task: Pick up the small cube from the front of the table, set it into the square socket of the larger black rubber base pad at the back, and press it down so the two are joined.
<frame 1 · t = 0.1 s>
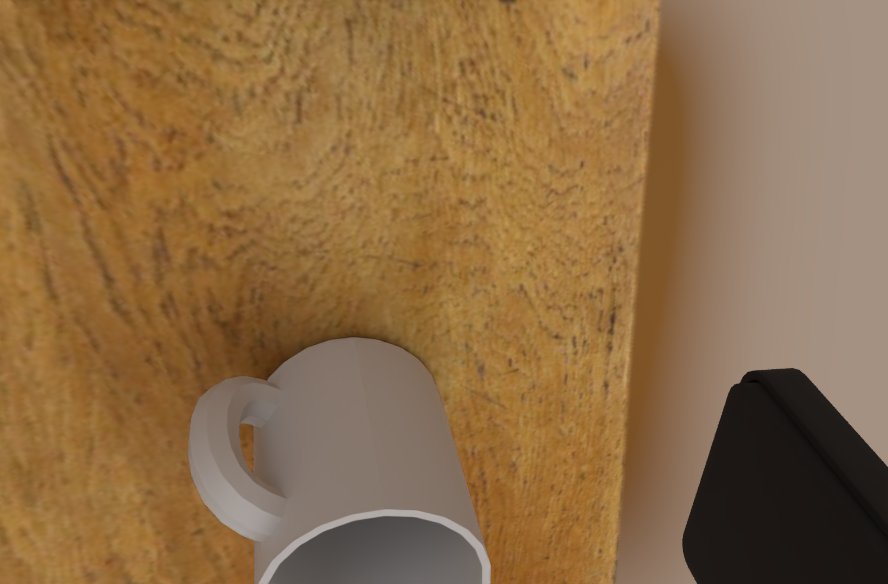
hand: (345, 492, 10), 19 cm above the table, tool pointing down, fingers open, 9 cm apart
cup: (317, 390, 33), on the table
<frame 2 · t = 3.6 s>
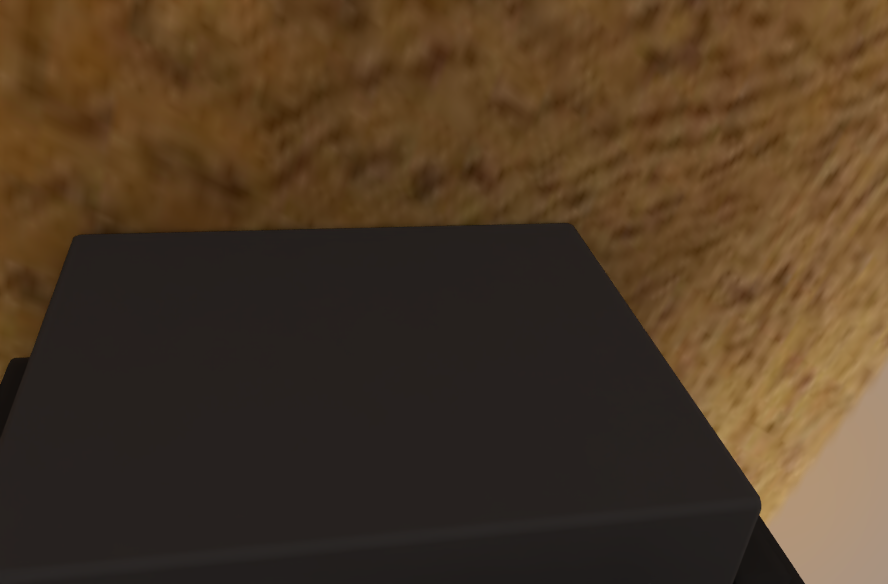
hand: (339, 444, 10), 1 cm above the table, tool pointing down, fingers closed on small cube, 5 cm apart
small cube: (335, 416, 11), on the table, touching gripper
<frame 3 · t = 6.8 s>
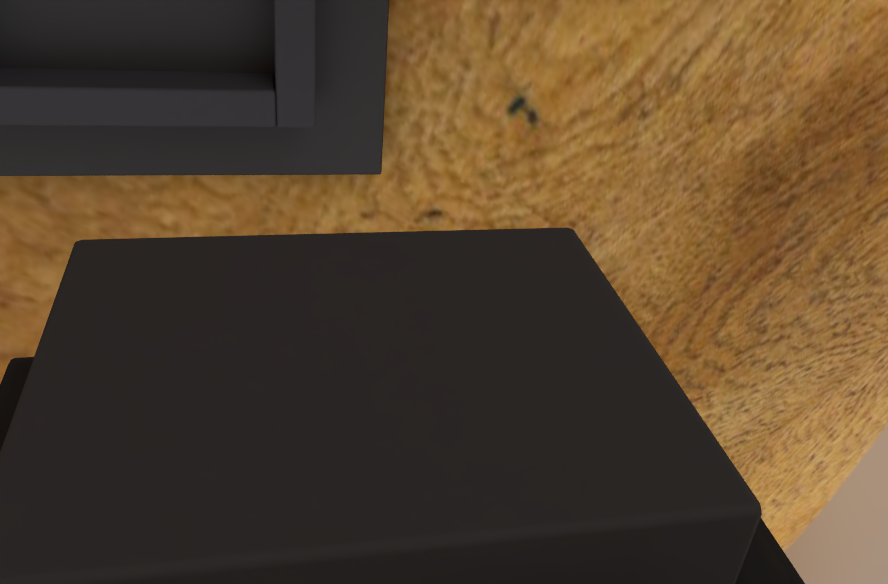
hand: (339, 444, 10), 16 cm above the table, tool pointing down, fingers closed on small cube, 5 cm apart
small cube: (336, 420, 11), point 15 cm above the table, touching gripper
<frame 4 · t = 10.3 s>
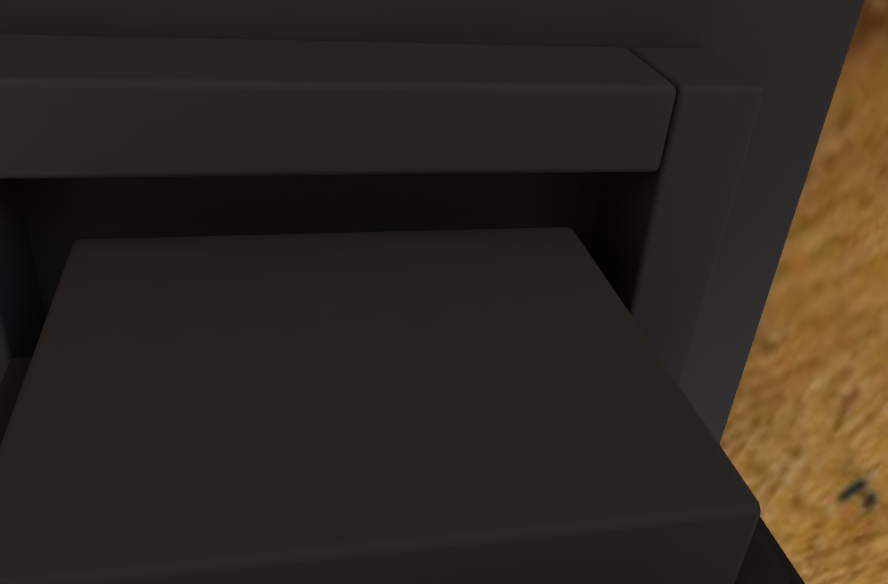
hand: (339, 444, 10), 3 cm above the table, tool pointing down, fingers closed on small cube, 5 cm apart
base pad: (325, 324, 12), on the table
small cube: (335, 420, 11), point 2 cm above the table, touching gripper
when the fingers open (3 cm above the table, at t = 15.6 s): small cube drops 2 cm, resting on base pad.
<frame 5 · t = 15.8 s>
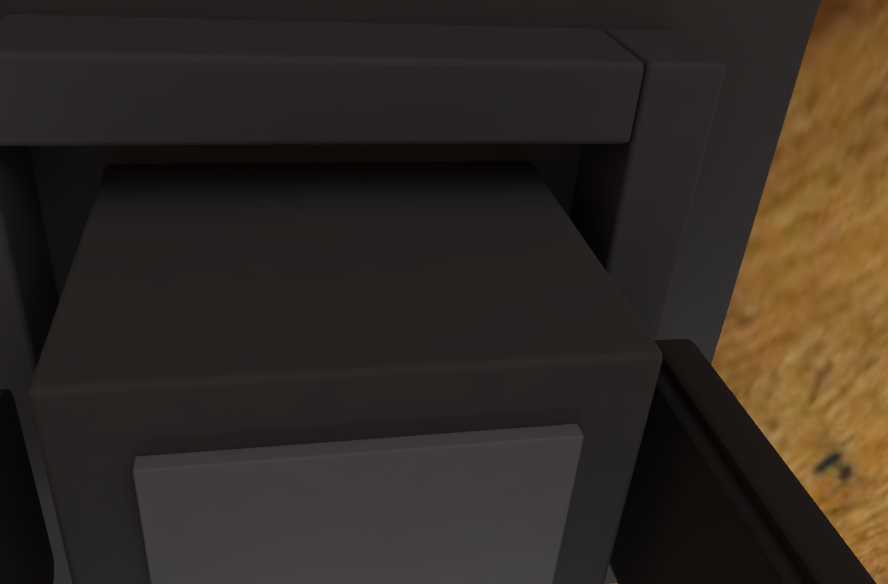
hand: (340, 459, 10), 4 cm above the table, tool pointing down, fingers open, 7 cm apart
base pad: (319, 296, 13), on the table
small cube: (328, 335, 12), point 1 cm above the table, touching base pad
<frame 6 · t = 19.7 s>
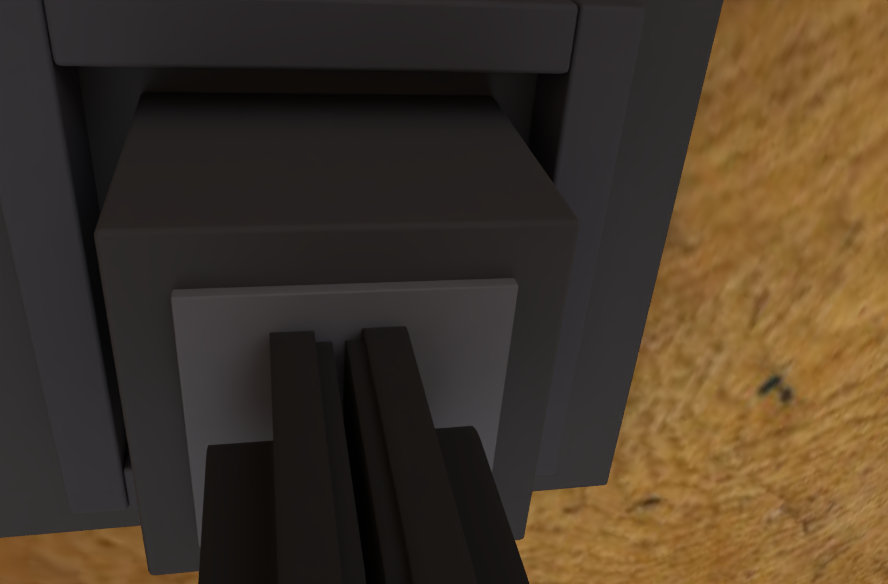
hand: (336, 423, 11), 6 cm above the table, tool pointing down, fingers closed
base pad: (316, 217, 15), on the table
small cube: (324, 246, 15), point 1 cm above the table, touching base pad, gripper
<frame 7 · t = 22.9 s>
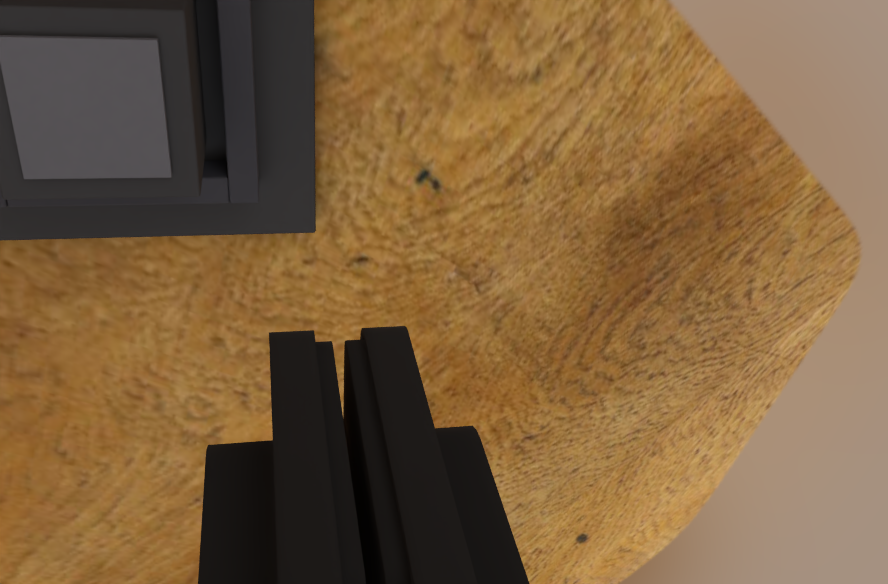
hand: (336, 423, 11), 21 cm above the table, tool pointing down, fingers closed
base pad: (113, 49, 28), on the table
small cube: (111, 60, 27), point 1 cm above the table, touching base pad
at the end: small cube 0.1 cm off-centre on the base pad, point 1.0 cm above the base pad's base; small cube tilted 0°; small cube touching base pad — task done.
